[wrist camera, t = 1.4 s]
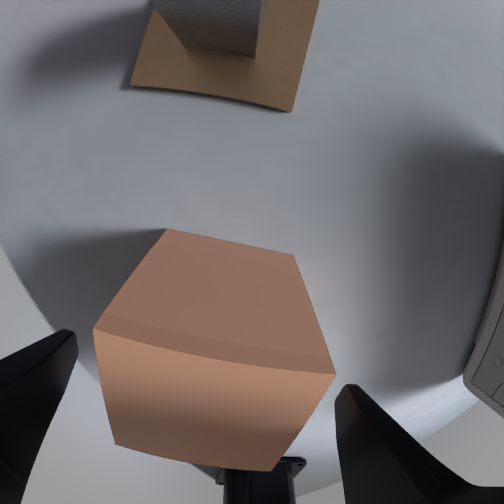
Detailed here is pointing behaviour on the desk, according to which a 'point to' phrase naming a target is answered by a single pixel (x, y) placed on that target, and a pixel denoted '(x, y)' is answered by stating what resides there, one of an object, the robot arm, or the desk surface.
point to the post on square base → (227, 49)
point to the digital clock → (489, 350)
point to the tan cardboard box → (211, 354)
